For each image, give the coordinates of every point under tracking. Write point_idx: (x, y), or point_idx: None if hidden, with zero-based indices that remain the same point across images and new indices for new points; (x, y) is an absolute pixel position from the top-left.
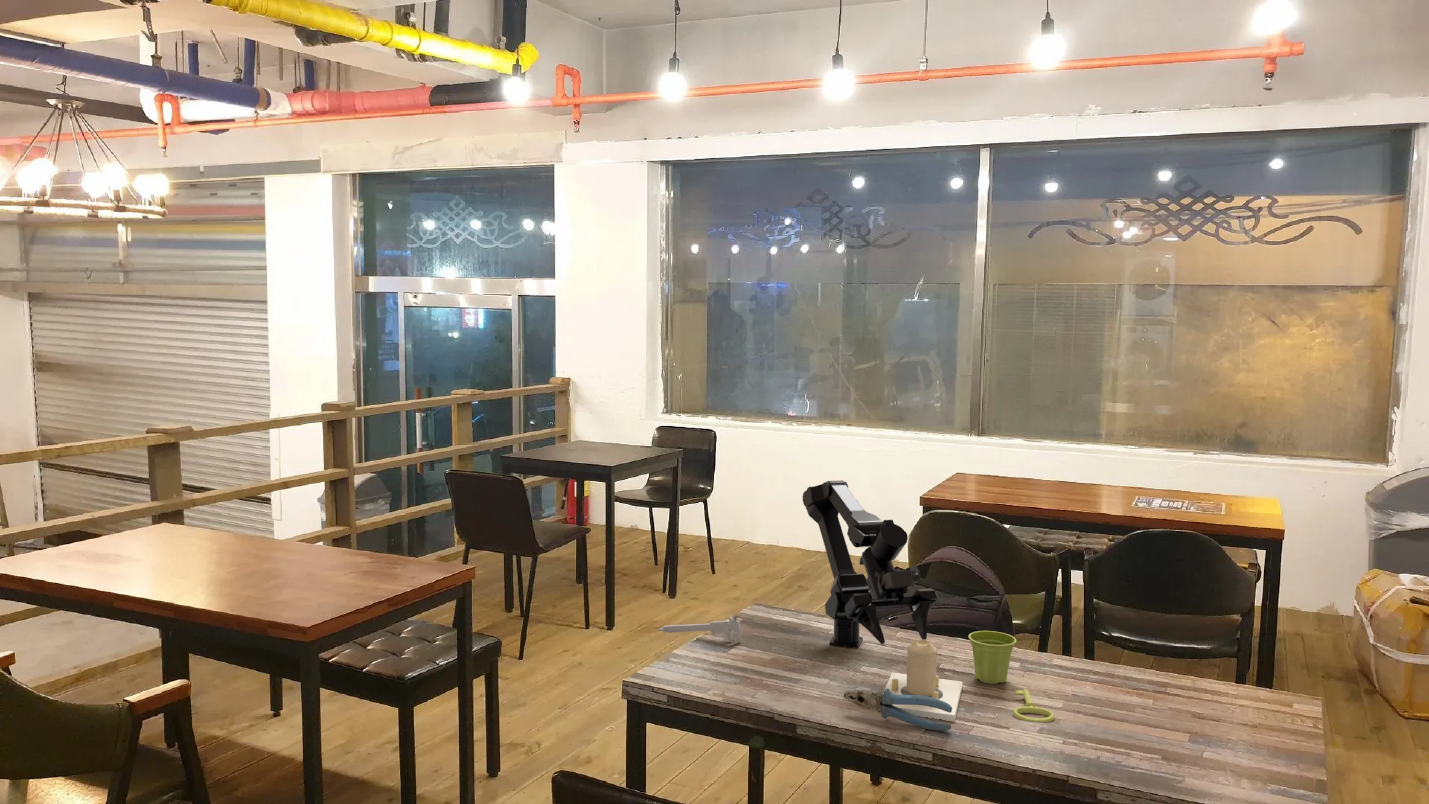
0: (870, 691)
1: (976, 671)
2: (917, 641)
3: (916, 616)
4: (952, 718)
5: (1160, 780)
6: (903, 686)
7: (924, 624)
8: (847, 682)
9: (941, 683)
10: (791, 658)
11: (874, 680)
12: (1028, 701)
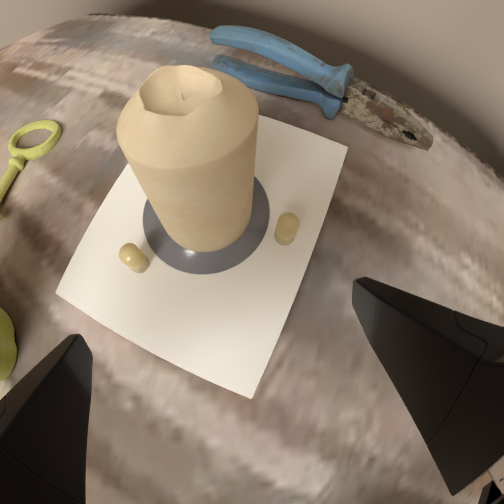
0: (380, 101)
1: (5, 342)
2: (195, 110)
3: (49, 501)
4: None
5: (57, 31)
6: (247, 264)
7: (28, 383)
8: None
9: (114, 283)
10: (471, 496)
11: (314, 379)
12: (8, 172)
